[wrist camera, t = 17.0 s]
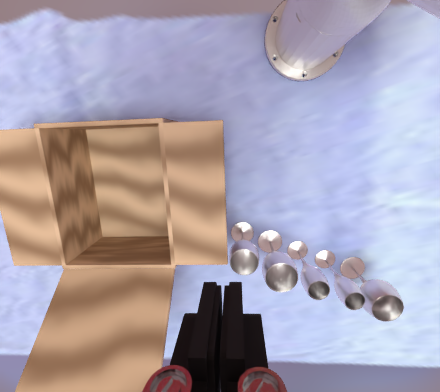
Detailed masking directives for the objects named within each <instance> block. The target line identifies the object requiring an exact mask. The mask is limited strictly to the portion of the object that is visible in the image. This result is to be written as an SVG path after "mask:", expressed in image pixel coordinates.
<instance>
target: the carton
mask: <svg viewBox="0 0 440 392" xmlns="http://www.w3.org/2000/svg"><path fill="white" fill-rule="evenodd" d="M0 211H1V215H2V219H3V223H4V227H5V231H6V235H7V239H8V243H9V247H10V251H11V255H12V259H13V263H14V266H24V265H62V267H63V269H128V268H176V266H177V265H223V264H228V254H227V225H226V196H225V167H224V138H223V120H216V121H193V122H178V121H173V120H169V119H164V118H154V119H132V120H110V121H87V122H65V123H43V124H34V128H33V129H10V130H0Z"/></svg>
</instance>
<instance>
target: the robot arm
mask: <svg viewBox="0 0 440 392" xmlns="http://www.w3.org/2000/svg"><path fill="white" fill-rule="evenodd" d="M390 1H391V0H284V1H283V2H282V3H281V4H280V5H279V6H278V7H277V8H276V9H275V11H274V12H273V14H272V16H271V18H270V20H269V22H268V25H267V29H266V34H265V49H266V54H267V57H268V59H269V62H270V63H271V65H272V67H273V68H274V69H275V70H276V71H277V72H278V73H279V74H281V75H282V76H283V77H286V78H288V79H290V80H295V81H307V80H312V79H315V78H317V77H319V76H321V75H322V74H324V73H326V72H327V71H328V70H329V69H331V67H332V66H333V65H334V64H335V63H336V62H337V60H338V59H339V57H340V56H341V54H342V51H343V49H344V46H345V44H346V43H347V42H348V41H349V40H350V39H352V38H353V37H354V36H355V35H357V34H358V33H359V32H360V31H361V30H363V29H364V28H365V27H366V26H367V25H369V24H370V23H371V22H372V21H373V20H374V19H376V18H377V17H378V16H379V15H380V14H381V13H382V12H383V11H384V9H385V8H386V7H387V6H388V4H389V3H390ZM407 1H409V2H411V3H413V4H414V5H416V6H418V7H420V8H421V9H423V10H425V11H427V12H428V13H430V14H432V15H434V16H435V17H437V18H439V19H440V0H407ZM273 20H276V22H273ZM333 54H334V55H335V57H334V56H333ZM273 58H275V59H276V60H275V61H274V60H273ZM302 74H304V77H302ZM142 392H287V390H286V387H285V384H284V382H283V381H282V379H281V378H280V377H279V375H277V373H275V372H274V371H272V370H270V369H268V363H267V355H266V348H265V341H264V334H263V327H262V319H261V314H243V306H242V282H230V283H229V286H225V289H224V302H223V316H222V293H221V285H217V283H216V282H204V285H203V289H202V294H201V298H200V303H199V308H198V312H197V313H185V314H184V317H183V321H182V324H181V328H180V331H179V335H178V338H177V342H176V345H175V349H174V352H173V355H172V359H171V362H170V365H169V366H165V367H162V368H161V369H159V370H157V371H156V372H155V373H154V374H152V375H151V377H150V378H149V380H148V381H147V383H146V385H145V387H144V389H143V391H142Z"/></svg>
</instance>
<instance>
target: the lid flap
mask: <svg viewBox="0 0 440 392" xmlns="http://www.w3.org/2000/svg"><path fill="white" fill-rule="evenodd" d="M174 274H175V269H174V268H159V269H64V271H63V273H62V276H61V278H60V281H59V283H58V286H57V288H56V291H55V293H54V296H53V298H52V301H51V303H50V306H49V308H48V311H47V313H46V316H45V318H44V321H43V323H42V326H41V328H40V331H39V333H38V336H37V338H36V341H35V343H34V346H33V348H32V350H31V353H30V355H29V358H28V360H27V363H26V365H25V368H24V370H23V373H22V375H21V378H20V380H19V383H18V385H17V388H16V391H15V392H142V391H143V389H144V387H145V385H146V383H147V381H148V380H149V378H150V377H151V375H152V374H154V373H155V372H156V371H157V370H159V369H161V368H162V365H163V357H164V350H165V342H166V335H167V327H168V320H169V312H170V304H171V297H172V289H173V282H174Z"/></svg>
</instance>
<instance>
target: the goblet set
mask: <svg viewBox="0 0 440 392" xmlns="http://www.w3.org/2000/svg"><path fill="white" fill-rule="evenodd" d="M253 234H254V231H253V228H252V227H251V225H249V224H248V223H245V222H239V223H237V224H235V225H234V226H233V227H232V230H231V236H232V238H233V239H234V240H235V241H236V242H235V243H234V244H233V245H232V247H231V249H230V252H229V262H230V265H231V268H232V269H233V270H234V271H235V272H236V273H238V274H240V275H249V274H251V273H253V272H254V271H255V270H256V269H257V267H258V264H259V253H258V250H257V248H256V246H255V245H254V244H253V243H252V242H250V240H251V239H252V237H253ZM258 245H259V247H260V248H261V249H262V250H263V251H265V252H268V253H269V254H268V255H267V256H266V257H265V258H264V260H263V264H262V274H263V277H264V280H265V282H266V284H267V285H268V287H269V288H271V289H272V290H274V291H276V292H286V291H289V290H291V289H292V288H293V287H294V286H295V285H296V283H297V281H298V273H297V268H296V265H295V263H294V261H293V260H292V259H296V260H298V259H301V260H302V263H303V268H302V270H301V282H302V285H303V287H304V289H305V291H306V292H307V293H308V295H309V296H310V297H311V298H313V299H316V300H321V299H324V298H326V297H327V296H328V294H329V292H330V288H329V284H328V281H327V279H326V277H325V275H324V274H323V273H322V272H321V271H320V270H319V269H318V268H317V267H315V266H312V265H309V264H307V263H306V262H305V261H304V259H303V258H304V257H305V256H306V254H307V252H308V248H307V246H306V244H305V243H303V242H301V241H295V242H293V243H291V244H290V245H289V247H288V250H287V252H288V255H289V256H288V255H287V254H286V253H284V252H281V251H277V250H278V249H279V248H280V247H281V245H282V238H281V236H280V235H279V234H278V233H277V232H275V231H272V230H269V231H265V232H263V233H262V234H261V235H260V236H259V238H258ZM290 257H291V258H292V259H291V258H290ZM334 262H335V255H334V254H333V253H332V252H331V251H328V250H323V251H320V252H319V253H318V254H317V255H316V257H315V263H316V264H317V266H319V267H321V268H328V267H330V269H331V270H332V272H333V274H334V278H335V280H334V288H335V292H336V294H337V296H338V298H339V299H340V300H341V302H342V303H343V304H344V305H345V306H346V307H347V308H349V309H351V310H357V309H360V308H362V307H363V308H364V309H365V310H366V311H367V312H368V313H369V314H370V315H372V316H373V317H375V318H377V319H378V320H381V321H392V320H394V319H396V318H398V317H399V316H400V315H401V313H402V312H403V308H404V306H403V302H402V299H401V297H400V295H399V293H398V292H397V290H396V289H395V288H394V287H393V286H392V285H391V284H389V283H388V282H386V281H383V280H379V279H372V280H368V281H366V280H365V279H363V278H362V277H361V276H360V275H362V273H363V272H364V269H365V265H364V262H363V261H362V260H361V259H359V258H356V257H351V258H348V259H346V260H344V261H343V262H342V264H341V267H340V271H341V273H342V275H343V276H342V275H339V274H338V273H337V272H336V271H335V270H334V269H333V268H332V265H333V264H334ZM357 277H359V278H360V279H361V281H362V283H363V284H362V285H361V287H360V288H359V286H358V285H357V284H356V283H355V282H354V281H353V280H351V279H354V278H357Z"/></svg>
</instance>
